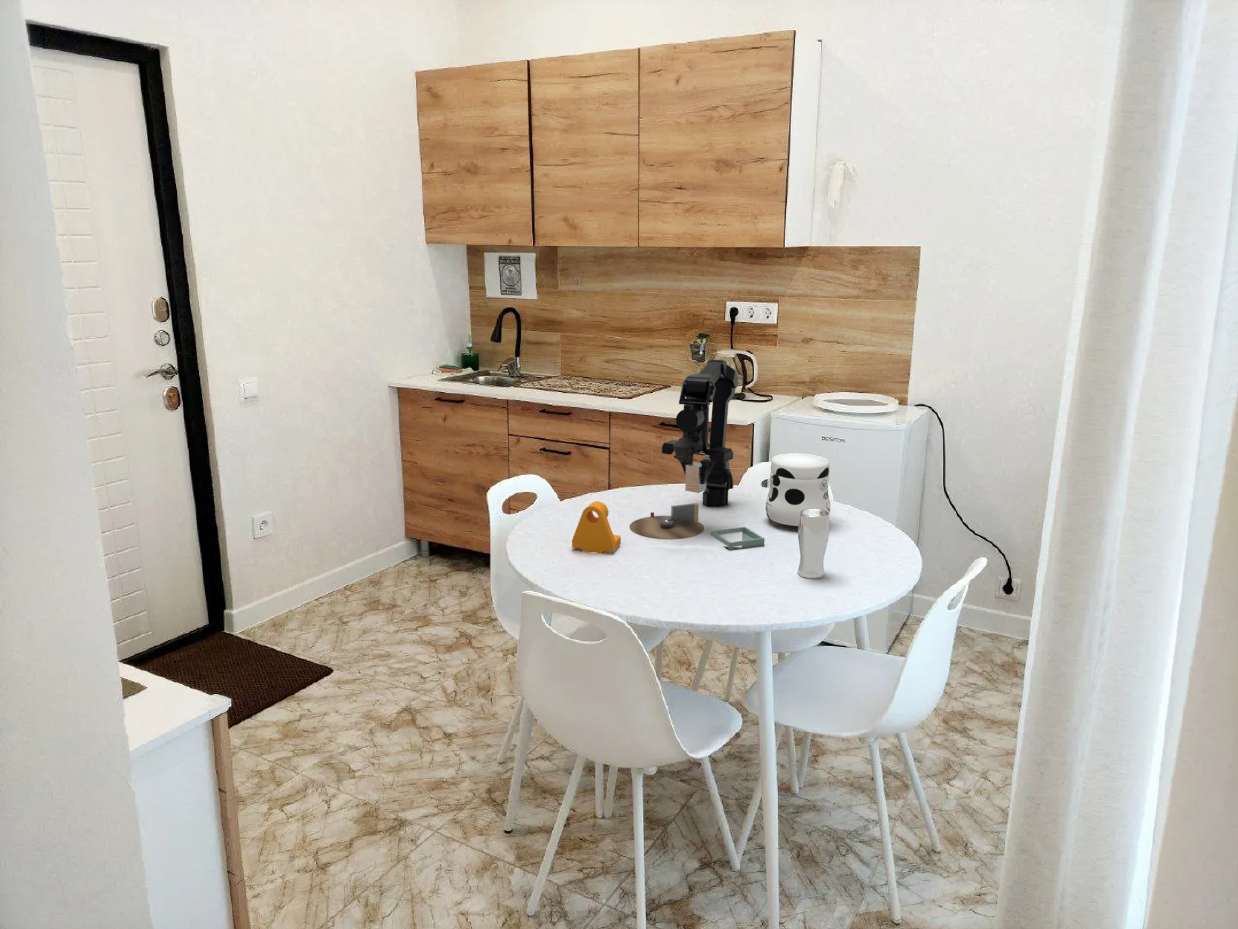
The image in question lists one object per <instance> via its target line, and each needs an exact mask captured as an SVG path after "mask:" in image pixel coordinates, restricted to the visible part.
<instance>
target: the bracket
mask: <svg viewBox="0 0 1238 929" xmlns="http://www.w3.org/2000/svg"><path fill="white" fill-rule="evenodd" d="M593 512H594V513H596V515H597V516H595V515H594V514H593ZM608 517H609V508H608V507H607V505H606V504H605V503H604V502H602V501H598V500H597V501H593V502H591V503H590V504H589V505H588V506H586V507H585V509H583V511H582V513H581V515H580V518H579V521H578V523H577V526H576V528H575V532H574V534H573V537H572V540H571V548H572V549H581V552H584V553H591V552H597V553H596V554H600V553H604V554H605V553H606V552H611V553H613V552H614V553H615V551H616V549H618V548H619V546H621V543H622V542H621V541H622V538H621V535H618V534H613V530H612V528H611V525H610V522H609V520H608Z"/></svg>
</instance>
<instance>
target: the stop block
mask: <svg viewBox="0 0 1238 929" xmlns="http://www.w3.org/2000/svg"><path fill="white" fill-rule="evenodd" d="M701 476H702V464H701V462H696V461H693V462H692V463H690V464H687V465H686V476H685V482H684V483H685V484H684V485H685V491H686V492H690V493H696V494H699V493H703V492H704V490H706V482H705V484H702V482H701Z"/></svg>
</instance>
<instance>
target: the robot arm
mask: <svg viewBox="0 0 1238 929" xmlns="http://www.w3.org/2000/svg"><path fill="white" fill-rule="evenodd" d="M738 383H739V378H738V373H737V372H736V369H735V368H733V367H732V366H730V365H729V364H728V362H727V360H724V359H709V360H707V362H706V365H705V366H704V367H703V368H702V369H701V370H700V371H699V372H698V373H696V374H695V373H694V374H689V375H687V377H686V378H685V380H683V382H682V385H681V390H680V391H681V392H680V395H679V400H678V405H683V409H681V410H680V411H678V413H677V415H676V417H675V424H676V427H678V429H679V430H681V432H682V433H683V435H682V437H680V438H679V439H677V440H676V439H675V440H674V439H672V440H668V441H665V442H663V443H662V445H661V453H660V454H664V455H673V453H674V455H673V458H674V459H676V460H677V461H678V462H679V463H680V465H681V468H682V470H683V472H684V476H685V477H686V465H687V464H690V463H692V462H694V455H699V456H703V457H704V458H703V459H701V460H700V461H699V463H701V464H702V476H701V482H702V484H705V482H706V490H704V491H702V506H704V507H706V508H724V507H726V506H728V505H729V491H730V490H732V489H734V478H733V474H732V471H731V469H730V462H729V461H731V460H733V459H734V452H733V450H732V448H731V447H726V440H727V427H728V416H729V415H728V414H729V403H730V402H731V401H732V398H733V397H735V394H736V389H737V387H738V385H739V384H738ZM711 403H712V404H711ZM710 405H712V407H711V418H710ZM709 421H710V422H709ZM709 423H710V424H709ZM709 425H710V426H709Z"/></svg>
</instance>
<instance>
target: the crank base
mask: <svg viewBox="0 0 1238 929" xmlns="http://www.w3.org/2000/svg"><path fill="white" fill-rule="evenodd" d="M665 517H668V518H671V515H655V513H654V512H653V511H651V512H650V516H647V517H641V518H638V519H635V520H633V521H632V522H631V523H630V524H629V530H630V531H631V532H632V533H633V534H635V535H638V536H640V537H644V538H648V539H654V540H655V539H656V540H667V541H668V540H671V541H672V540H682V539H689V538H693V537H696V536H699V535H700V534H702V533H703V532H704V531H705V526H704V524H703V523H702V522H700V521H698V522H696V523H687V524H679V525H674V526H673V527H662V526H660V519H661V518H665Z"/></svg>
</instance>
